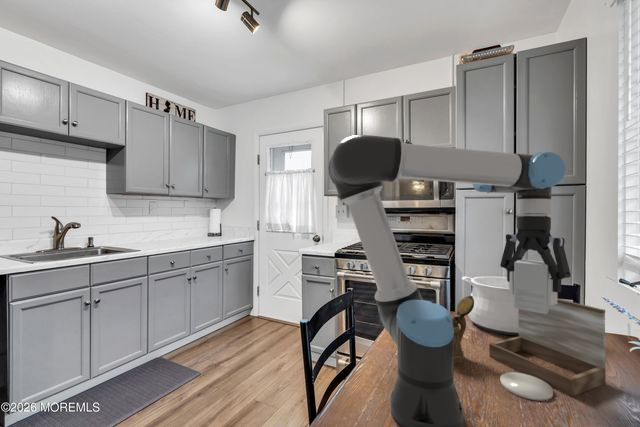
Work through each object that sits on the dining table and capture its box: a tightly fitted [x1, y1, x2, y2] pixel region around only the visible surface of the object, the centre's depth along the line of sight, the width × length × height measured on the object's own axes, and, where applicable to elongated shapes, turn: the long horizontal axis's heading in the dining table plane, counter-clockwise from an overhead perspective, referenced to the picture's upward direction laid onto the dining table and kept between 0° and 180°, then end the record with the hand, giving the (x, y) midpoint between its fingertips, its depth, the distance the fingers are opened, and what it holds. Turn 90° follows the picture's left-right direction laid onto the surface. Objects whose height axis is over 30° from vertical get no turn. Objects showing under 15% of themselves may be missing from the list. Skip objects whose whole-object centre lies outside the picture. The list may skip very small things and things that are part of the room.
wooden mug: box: [452, 295, 474, 364], centre depth 94 cm, size 9×14×18 cm, turn 102°
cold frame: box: [488, 298, 607, 397], centre depth 85 cm, size 14×22×19 cm, turn 22°
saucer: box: [499, 371, 554, 402], centre depth 77 cm, size 11×11×1 cm
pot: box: [461, 275, 519, 337], centre depth 118 cm, size 28×24×17 cm
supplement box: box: [514, 259, 551, 314], centre depth 82 cm, size 7×7×13 cm
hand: (532, 299), depth 82 cm, fingers closed on supplement box, 9 cm apart
